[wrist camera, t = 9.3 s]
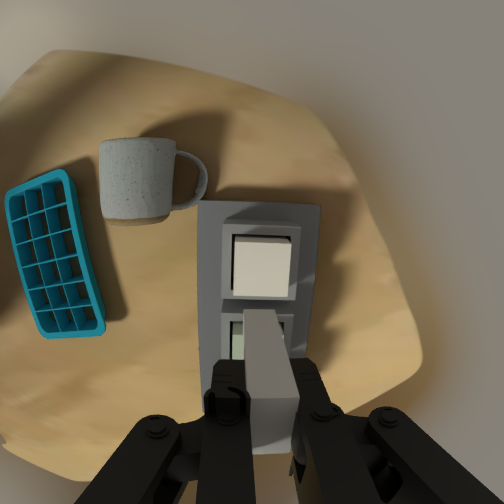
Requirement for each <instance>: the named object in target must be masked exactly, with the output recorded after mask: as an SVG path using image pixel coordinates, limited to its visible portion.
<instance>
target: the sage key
mask: <svg viewBox="0 0 504 504" xmlns="http://www.w3.org/2000/svg"><path fill="white" fill-rule="evenodd" d="M278 323H279V326H280V330H281V333H282V337H283V340H284V334H283V330H282V327H281V323H280V322H278ZM242 344H243V321H233V339H232V359H237V360H242Z"/></svg>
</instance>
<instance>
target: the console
mask: <svg viewBox="0 0 504 504" xmlns="http://www.w3.org/2000/svg"><path fill="white" fill-rule="evenodd" d="M320 211H321V206H320V205H316V204H306V203H290V202H270V201H247V200H214V199H201V200H198V217H197V297H198V334H199V358H200V377H201V394H202V408H203V412H204V400H203V396H204V394H205V392H206V391H207V390H208V389H210V388H211V380H212V372H213V366H214V365H215V363H216V362H217V361H218V360H219V359H232V339H233V321H243V309H275V313H276V316H277V319H278V322H280V323H281V327H282V330H283V334H284V344H285V347H286V351H287V354H288V358H305V354H306V347H307V340H308V332H309V325H310V317H311V309H312V300H313V291H314V282H315V272H316V261H317V250H318V238H319V225H320ZM236 234H255V235H282V236H285V237H286V238H287V239H288V240H289V242H290V243H291V258H290V271H289V284H288V296H287V297H268V296H233V291H234V254H235V236H236Z"/></svg>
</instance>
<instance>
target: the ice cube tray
mask: <svg viewBox="0 0 504 504" xmlns="http://www.w3.org/2000/svg"><path fill="white" fill-rule="evenodd" d="M60 182H62V183H63V185H64V191H65V197H66V202H64V203H61V204H58V205H57V203H56V197H55V191H54V185H55V184H57V183H60ZM39 190H42V196H43V202H44V208H45V209H43V210H39V204H38V197H37V191H39ZM23 197H25V203H26V209H27V215H26V216H24V217H23V211H22V199H23ZM4 204H5V210H6V217H7V222H8V228H9V233H10V237H11V242H12V247H13V251H14V255H15V259H16V263H17V267H18V271H19V274H20V278H21V281H22V284H23V288H24V291H25V294H26V297H27V300H28V303H29V306H30V309H31V312H32V315H33V317H34V320H35V323H36V325H37V328H38V331H39V332H40V334H41V335H42V336H43V337H45V338H47V339H59V338H77V337H92V336H101V335H102V334H103V333H104V332H105V330H106V324H105V321H104V319H105V317H106V311H105V307H104V304H103V301H102V298H101V295H100V291H99V288H98V285H97V281H96V278H95V274H94V270H93V267H92V263H91V259H90V255H89V251H88V247H87V243H86V238H85V234H84V229H83V224H82V220H81V215H80V209H79V204H78V198H77V192H76V186H75V184H74V181H73V180H72V179H71V178H70V177H69V175H68V173H67V171H66V170H63V169H57V170H54V171H52V172H49V173H47V174H44V175H42V176H40V177H37V178H35V179H33V180H30V181H28V182H26V183H23V184H21V185H19V186H17V187H15V188H13V189H10V190H8V192H7V193H6V195H5V202H4ZM65 205H67V209H68V214H69V219H70V224H71V228H69V229H65V230H61V225H60V220H59V215H58V209H57V208H59V207H62V206H65ZM44 212H45V214H46V219H47V224H48V229H49V234H47V235H44V230H43V225H42V220H41V215H40V214H41V213H44ZM27 218H28V221H29V226H30V231H31V236H32V239H31V240H28V237H27V232H26V228H25V222H24V219H27ZM68 230H72V234H73V238H74V242H75V247H76V251H77V252H74V253H69V254H67V251H66V247H65V243H64V239H63V234H62V232H65V231H68ZM47 236H50V239H51V243H52V247H53V251H54V255H55V257H52V258H50V256H49V252H48V248H47V244H46V240H45V237H47ZM30 241H33V245H34V249H35V253H36V257H37V261H35V262H33V258H32V254H31V250H30V246H29V242H30ZM74 256H78V259H79V263H80V267H81V270H82V274H83V275H82V276H76V277H73V274H72V271H71V267H70V263H69V259H68V258H70V257H74ZM52 261H56V263H57V267H58V271H59V274H60V278H61V279H60V280H56V278H55V275H54V271H53V268H52V264H51V262H52ZM34 265H39V268H40V272H41V276H42V279H43V283H39V280H38V277H37V273H36V270H35V266H34ZM83 281H85V284H86V288H87V291H88V294H89V297H90V298H86V299H80V298H79V294H78V291H77V288H76V285H75V283H77V282H83ZM59 285H63V288H64V291H65V294H66V297H67V300H68V301H64V302H63V301H62V298H61V295H60V292H59V289H58V286H59ZM42 288H45V289H46V292H47V295H48V298H49V302H50V303H49V304H46V303H45V300H44V296H43V293H42V290H41V289H42ZM86 306H92V307H93V310H94V313H95V316H96V320H87V318H86V316H85V313H84V310H83V307H86ZM69 308H70V309H71V312H72V315H73V318H74V321H75V322H70V321H69V318H68V316H67V313H66V310H65V309H69ZM52 310H53V313H54V316H55V319H56V321H57V323H55V322H54V321H53V320H52V318H51V317H50V314H49V311H52Z"/></svg>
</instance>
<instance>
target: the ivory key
mask: <svg viewBox="0 0 504 504" xmlns="http://www.w3.org/2000/svg"><path fill="white" fill-rule="evenodd" d="M290 258H291V243H290V242H289V240H288V239H287V238H286V237H285V236H282V235H255V234H236V236H235V254H234V291H233V296H268V297H287V296H288V284H289V271H290Z"/></svg>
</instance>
